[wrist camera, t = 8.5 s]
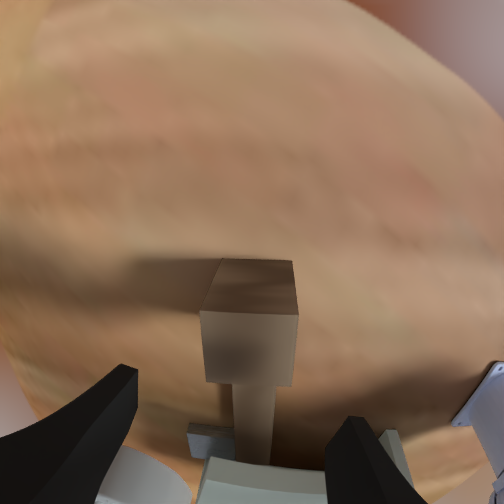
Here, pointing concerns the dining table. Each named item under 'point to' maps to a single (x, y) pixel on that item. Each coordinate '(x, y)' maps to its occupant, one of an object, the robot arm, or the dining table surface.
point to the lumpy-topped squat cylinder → (141, 481)
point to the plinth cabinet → (277, 480)
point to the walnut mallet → (251, 344)
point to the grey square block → (211, 442)
